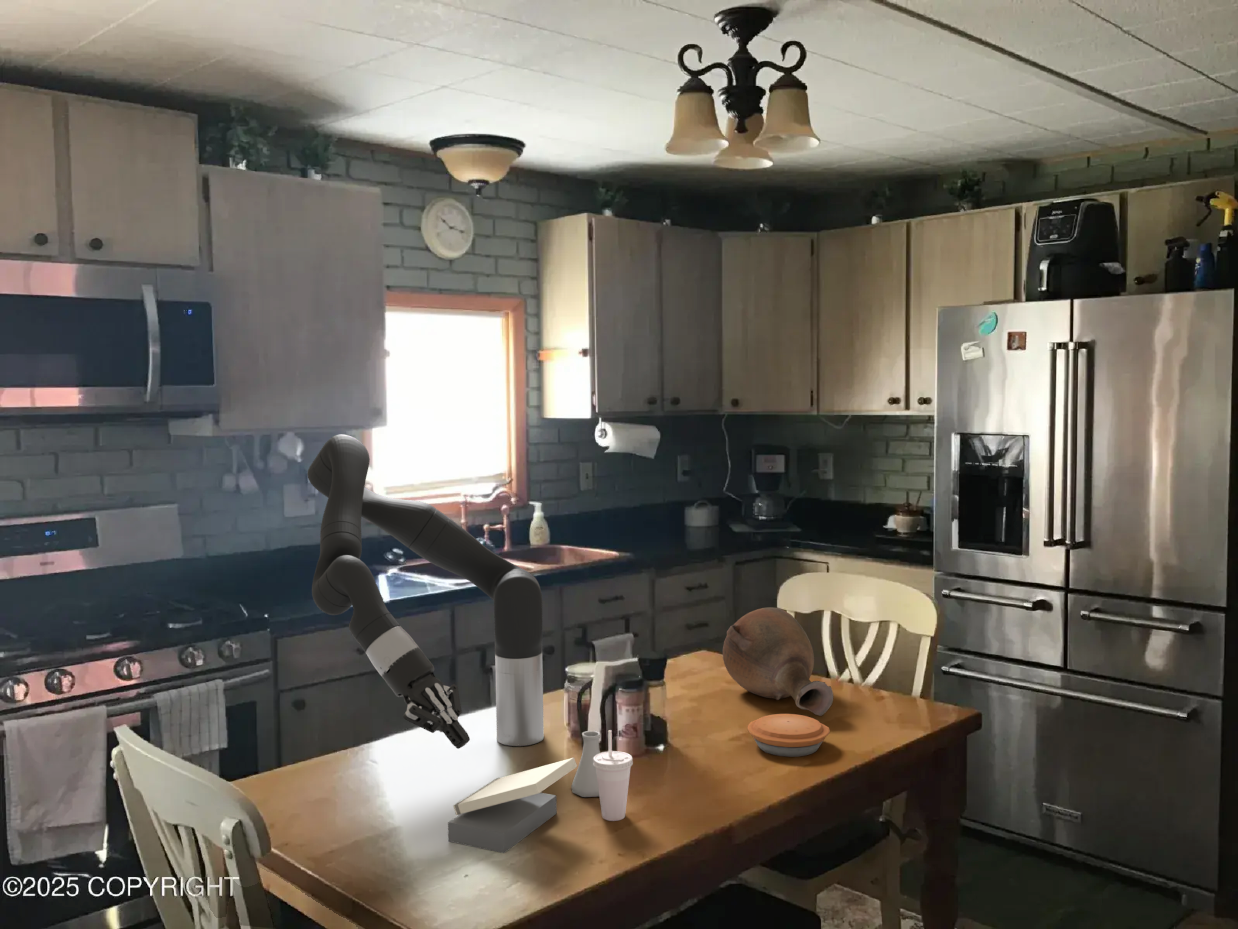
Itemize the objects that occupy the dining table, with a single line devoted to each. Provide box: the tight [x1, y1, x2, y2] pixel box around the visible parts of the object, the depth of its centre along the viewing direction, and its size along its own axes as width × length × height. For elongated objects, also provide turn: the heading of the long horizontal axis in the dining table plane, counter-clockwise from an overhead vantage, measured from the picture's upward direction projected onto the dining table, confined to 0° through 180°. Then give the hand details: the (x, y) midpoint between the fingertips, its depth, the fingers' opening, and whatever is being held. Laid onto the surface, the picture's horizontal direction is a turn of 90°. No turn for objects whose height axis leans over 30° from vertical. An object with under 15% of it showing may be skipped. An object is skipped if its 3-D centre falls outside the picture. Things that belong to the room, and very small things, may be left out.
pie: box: [747, 713, 831, 758], centre depth 201 cm, size 15×16×5 cm
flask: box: [571, 730, 601, 798], centre depth 180 cm, size 7×7×10 cm
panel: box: [452, 757, 578, 816], centre depth 165 cm, size 12×2×16 cm
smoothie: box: [593, 729, 634, 822], centre depth 169 cm, size 6×6×14 cm
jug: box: [722, 606, 834, 717], centre depth 230 cm, size 20×20×30 cm
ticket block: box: [447, 792, 558, 854], centre depth 166 cm, size 16×10×3 cm, turn 154°
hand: (464, 744), depth 169 cm, fingers closed
